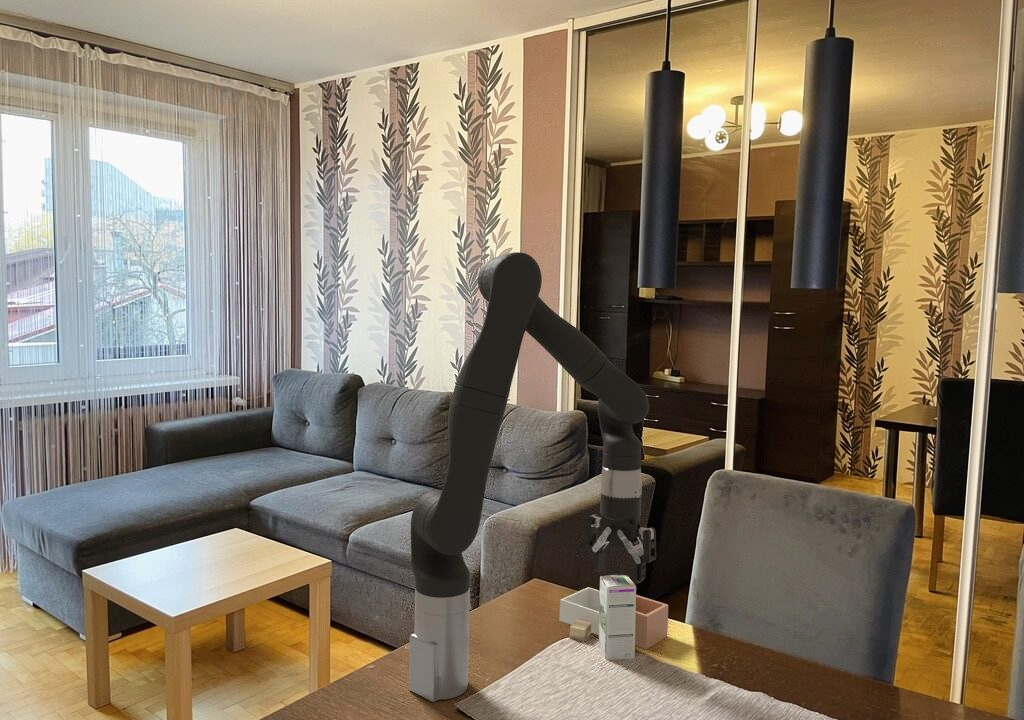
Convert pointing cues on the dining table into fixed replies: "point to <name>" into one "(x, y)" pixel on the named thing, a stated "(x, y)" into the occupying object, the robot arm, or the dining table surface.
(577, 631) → the beech block
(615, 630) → the syrup box
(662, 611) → the open box
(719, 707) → the dining table surface
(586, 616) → the bin
